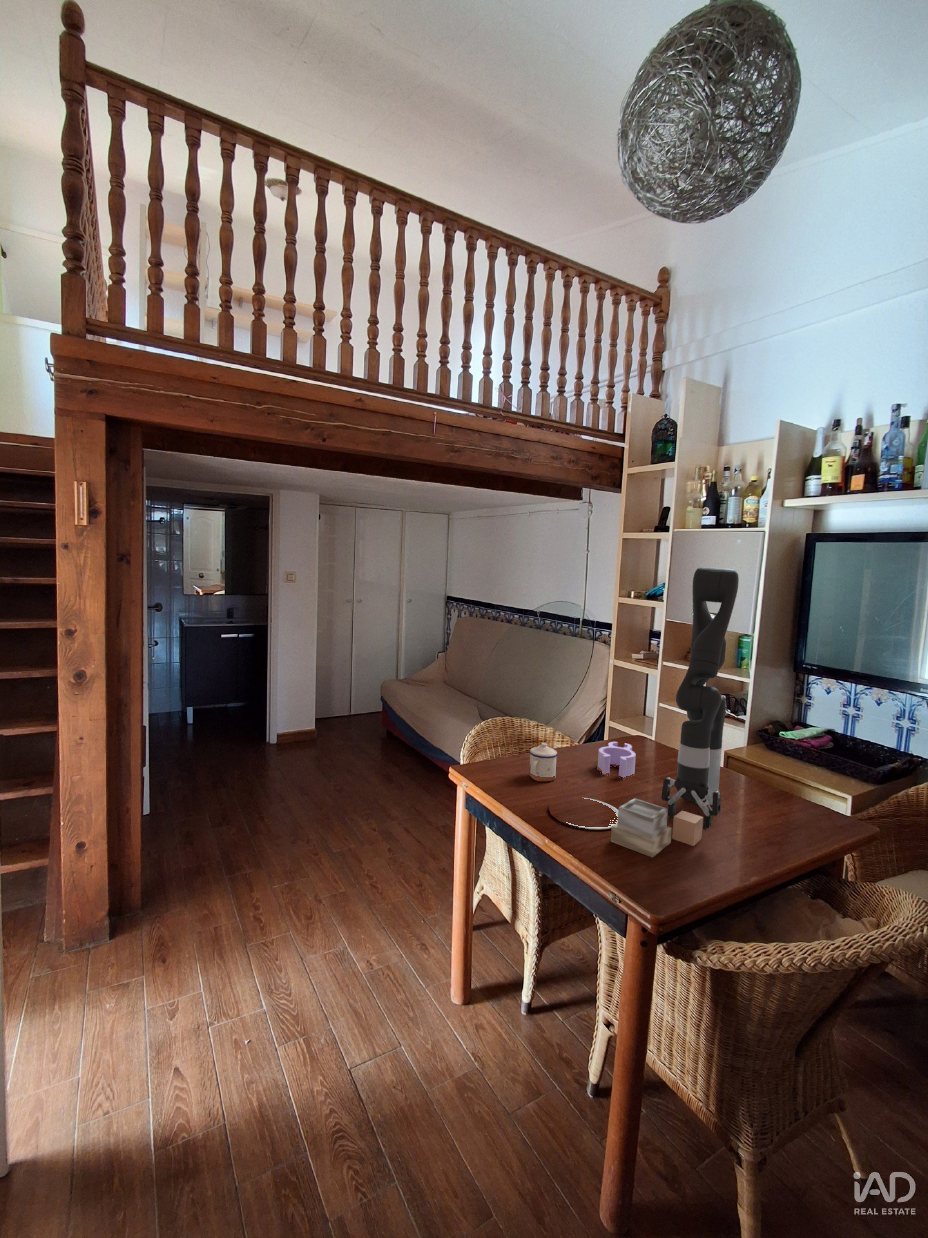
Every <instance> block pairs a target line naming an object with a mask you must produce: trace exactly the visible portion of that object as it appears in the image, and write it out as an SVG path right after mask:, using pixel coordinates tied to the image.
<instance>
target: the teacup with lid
mask: <svg viewBox="0 0 928 1238" xmlns="http://www.w3.org/2000/svg"><path fill="white" fill-rule="evenodd" d="M557 756H558V751H557V750H556V749H553V748H551V747H550V746H548V744H547V742H542V743H540V745H538V746H534V747H532V748H531V749H530V750H529V766H528V767H529V770H528V772H529V771H530V773H531V774H533V775H535V776H540V777H553V776H555V777H556V771H557V770H556V767H557Z"/></svg>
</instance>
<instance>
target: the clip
mask: <svg viewBox="0 0 928 1238" xmlns="http://www.w3.org/2000/svg"><path fill="white" fill-rule="evenodd" d="M618 743H619V742H618V741H610V742H608V744H607V745H608V746H602V747H600V748H598V754H597V755H598V756H597V757H598V759H597V768H598V767H599V768H600V769H601V770H602V773H603V774H606V773H609V774H610V770H611V769H610V767H611V766H610V764H616V765H620V766H619V767H618V768H619V769H618V777H619V776H621V777H623V778H624V777H626V776H630V775H632V774H634V775H635V771H636V770H635V769H636V755H637V753H636V752H635V751H633V745H632V744H629V743H625V742H624V746H623V747H621V746H618ZM626 778H627V777H626Z"/></svg>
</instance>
